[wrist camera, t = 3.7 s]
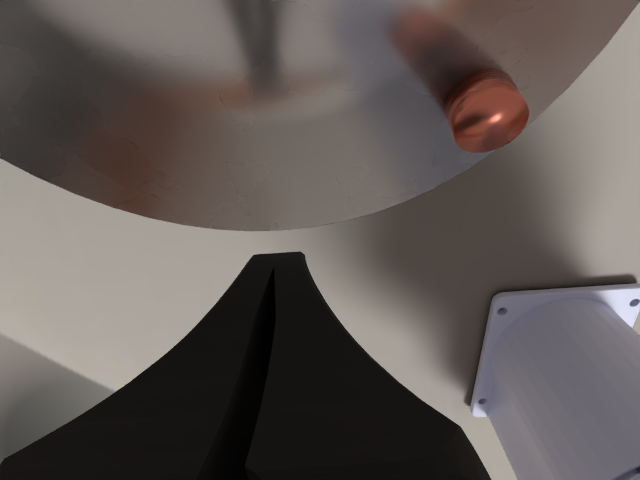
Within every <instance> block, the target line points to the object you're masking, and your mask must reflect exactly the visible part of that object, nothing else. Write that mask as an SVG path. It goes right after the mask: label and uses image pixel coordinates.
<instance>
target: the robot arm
mask: <svg viewBox="0 0 640 480" xmlns="http://www.w3.org/2000/svg"><path fill="white" fill-rule="evenodd" d="M500 308H503V309H502V310H499V309H500ZM498 310H499V311H498ZM639 310H640V284H637V283H635V284H620V285H605V286H589V287H574V288H559V289H544V290H529V291H514V292H502V293H498V294H496V295H495V296H494V297H493V299H492V302H491V307H490V312H489V317H488V322H487V327H486V332H485V337H484V342H483V347H482V352H481V357H480V361H479V366H478V371H477V376H476V381H475V386H474V391H473V396H472V401H471V406H470V410H471V413H472V415H473V416H475V417H486V416H488V417H489V419H490V421H491V423H492V425H493V427H494V429H495V432H496V434H497V436H498V438H499V440H500V442H501V445H502V447H503V449H504V451H505V453H506V455H507V458H508V460H509V462H510V464H511V466H512V468H513V471H514V473H515V475H516V477H517V479H518V480H640V335H639V334H638V333H637V332H636V331H635V330H634V329H633V328H632V327H633V324H634V322H635V320H636V317H637V315H638V313H639ZM0 480H491V478H490V476H489V474H488V472H487V471H486V469H485V467H484V465H483V463H482V461H481V460H480V458H479V456H478V454H477V452H476V451H475V449H474V447H473V446H472V444H471V443H470V441H469V439H468V438H467V436H466V434H465V433H464V431H463V430H462V428H461V427H460V426H459V425H457V424H456V423H454V422H453V421H452V420H450V419H449V418H447V417H446V416H444V415H443V414H441V413H440V412H438V411H437V410H435V409H434V408H432V407H431V406H429V405H428V404H426V403H425V402H423V401H422V400H421V399H419V398H418V397H417V396H416V395H414V394H413V393H412V392H411V391H409V390H408V389H407V388H406V387H404V386H403V385H402V384H400V383H399V382H398V381H397V380H396V379H395V378H394V377H392V376H391V375H390V374H389V373H388V372H387V371H386V370H385V369H384V368H383V367H381V366H380V365H379V364H378V363H377V362H376V361H375V360H374V359H373V358H372V357H371V356H370V355H369V354H368V353H367V352H366V351H365V350H364V349H363V348H362V347H361V346H360V345H359V344H358V343H357V342H356V341H355V339H354V338H353V337H352V336H351V335H350V334H349V332H348V331H347V330H346V329H345V328H344V326H343V325H342V324H341V323H340V321H339V320H338V319H337V317H336V316H335V314H334V313H333V312H332V310H331V309H330V307H329V306H328V304H327V303H326V301H325V300H324V298H323V296H322V295H321V293H320V291H319V289H318V288H317V286H316V284H315V282H314V280H313V278H312V276H311V274H310V272H309V269H308V267H307V264H306V260H305V255H304V254H303V253H302V252H287V253H273V254H258V255H253V256H252V257H251V259H250V260H249V261H248V263H247V264H246V265H245V267H244V268H243V270H242V271H241V272H240V274H239V275H238V277H237V278H236V279H235V281H234V282H233V283H232V284H231V286H230V287H229V288H228V289H227V291H226V292H225V293H224V294H223V296H222V297H221V298H220V299H219V301H218V302H217V303H216V304H215V305H214V307H213V308H212V309H211V310H210V311H209V312H208V313H207V314H206V315H205V316H204V318H203V319H202V320H201V321H200V322H199V323H198V324H197V325H196V326H195V327H194V328H193V329H192V330H191V331H190V332H189V333H188V334H187V335H186V336H185V337H184V338H183V339H182V340H181V341H180V342H179V343H178V344H176V345H175V346H174V347H173V348H172V349H171V350H170V351H169V352H167V353H166V354H165V355H164V356H163V357H161V358H160V359H159V360H158V361H156V362H155V363H154V364H152V365H151V366H150V367H149V368H147V369H146V370H145V371H143V372H142V373H141V374H140V375H138V376H137V377H136V378H134V379H133V380H132V381H131V382H129V383H128V384H126V385H125V386H124V387H122V388H121V389H119V390H118V391H116V392H115V393H113V394H112V395H111V396H109V397H108V398H106V399H105V400H103V401H102V402H100V403H99V404H97V405H96V406H94V407H93V408H91V409H89V410H88V411H86V412H85V413H83V414H82V415H80V416H78V417H77V418H75V419H74V420H72V421H70V422H69V423H67V424H65V425H63V426H62V427H60V428H58V429H56V430H55V431H53V432H51V433H49V434H48V435H46V436H44V437H42V438H41V439H39V440H37V441H35V442H34V443H32V444H30V445H29V446H27V447H25V448H23V449H22V450H20V451H18V452H16V453H14V454H12V455H11V456H9V457H7V458H5V459H4V460H3V461H2V463H1V464H0Z"/></svg>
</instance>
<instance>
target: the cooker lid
mask: <svg viewBox="0 0 640 480" xmlns="http://www.w3.org/2000/svg"><path fill="white" fill-rule="evenodd" d="M639 2H640V0H0V158H1V159H3V160H5V161H7V162H9V163H11V164H12V165H14V166H16V167H18V168H20V169H22V170H24V171H26V172H28V173H30V174H32V175H34V176H36V177H38V178H40V179H42V180H45V181H47V182H49V183H51V184H54V185H56V186H58V187H61V188H63V189H65V190H67V191H70V192H72V193H74V194H77V195H79V196H82V197H85V198H88V199H91V200H93V201H96V202H99V203H102V204H104V205H107V206H110V207H113V208H116V209H120V210H123V211H127V212H130V213H134V214H137V215H141V216H144V217H148V218H152V219H157V220H162V221H167V222H172V223H176V224H181V225H187V226H195V227H203V228H210V229H219V230H237V231H277V230H290V229H300V228H309V227H316V226H321V225H327V224H332V223H337V222H343V221H347V220H350V219H354V218H358V217H361V216H365V215H369V214H372V213H375V212H378V211H381V210H384V209H387V208H389V207H392V206H395V205H398V204H400V203H403V202H406V201H408V200H410V199H412V198H414V197H416V196H419V195H421V194H423V193H425V192H427V191H430V190H432V189H434V188H436V187H438V186H440V185H441V184H443V183H445V182H447V181H448V180H450V179H452V178H454V177H456V176H457V175H459V174H461V173H463V172H464V171H466V170H468V169H469V168H471V167H472V166H474V165H475V164H477V163H478V162H480V161H481V160H483V159H484V158H486V157H487V156H489V155H490V154H492V153H493V152H495V151H496V150H497V149H499V148H500V147H502V146H504V145H506V144H508V143H509V142H511V141H512V140H513V139H515V138H516V137H517V136H518V135H519V134H520V133H521V131H522V130H523V129H524V128H525V127H526V126H528V125H529V124H530V123H531V122H533V121H534V120H535V119H536V118H537V117H538V116H539V115H540V114H541V113H542V112H543V111H544V110H545V109H547V108H548V107H549V106H550V105H551V104H552V103H553V102H554V101H555V100H556V99H557V98H558V97H559V96H560V95H561V94H562V93H563V92H564V91H565V90H567V89H568V88H569V87H570V86H571V84H572V83H573V82H574V81H575V80H576V79H577V78H578V77H579V75H580V74H581V73H582V72H583V71H584V70H585V69H586V68H587V67H588V65H589V64H590V63H591V62H592V61H593V60H594V59H595V58H596V56H597V55H598V54H599V53H600V52H601V51H602V50H603V49H604V48H605V46H606V45H607V44H608V43H609V41H610V40H611V39H612V37H613V36H614V35H615V33H616V32H617V31H618V29H619V28H620V27H621V25H622V24H623V23H624V21H625V20H626V19H627V18H628V16H629V15H630V14H631V12H632V11H633V10H634V8H635V7H636V6H637V4H638V3H639Z"/></svg>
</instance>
